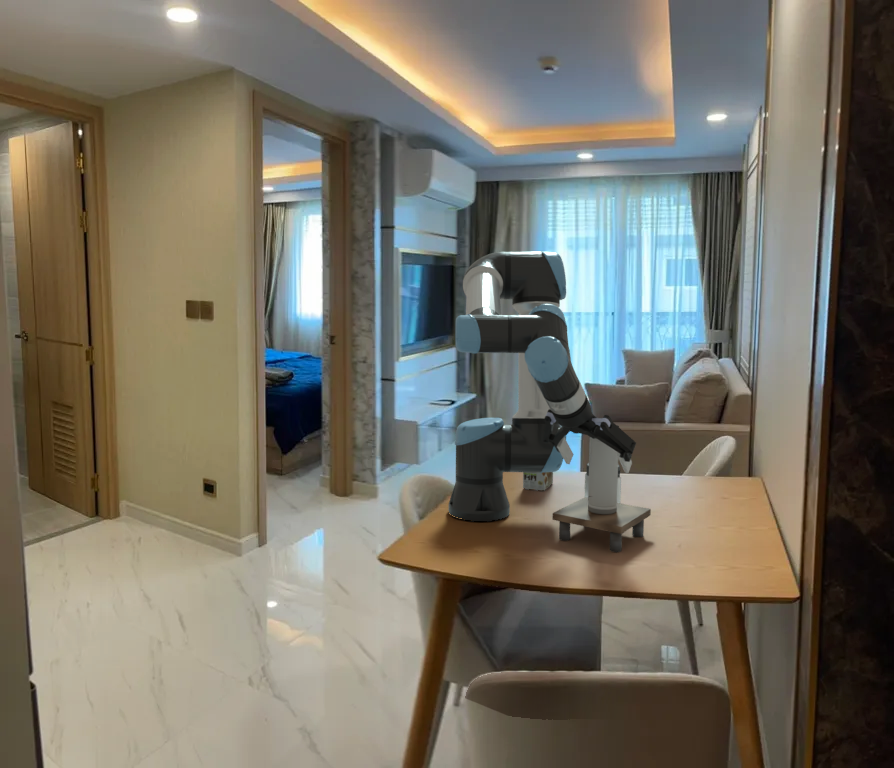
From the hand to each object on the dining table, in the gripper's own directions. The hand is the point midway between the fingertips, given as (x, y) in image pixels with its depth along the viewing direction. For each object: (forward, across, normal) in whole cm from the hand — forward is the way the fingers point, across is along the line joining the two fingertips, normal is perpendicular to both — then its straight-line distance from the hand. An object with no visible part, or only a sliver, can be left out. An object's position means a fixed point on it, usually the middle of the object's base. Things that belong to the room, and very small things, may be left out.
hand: (598, 463), depth 155 cm
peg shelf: (+15, 0, -10) cm, 18 cm away
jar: (+27, -8, +2) cm, 29 cm away
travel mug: (+10, 0, -6) cm, 12 cm away
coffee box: (+36, -33, +11) cm, 50 cm away
